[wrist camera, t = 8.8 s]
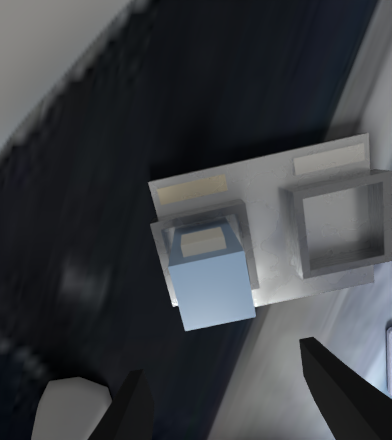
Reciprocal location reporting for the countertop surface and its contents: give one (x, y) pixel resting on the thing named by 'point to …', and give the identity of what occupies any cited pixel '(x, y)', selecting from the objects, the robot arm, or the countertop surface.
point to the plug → (210, 275)
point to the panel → (288, 216)
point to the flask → (70, 409)
